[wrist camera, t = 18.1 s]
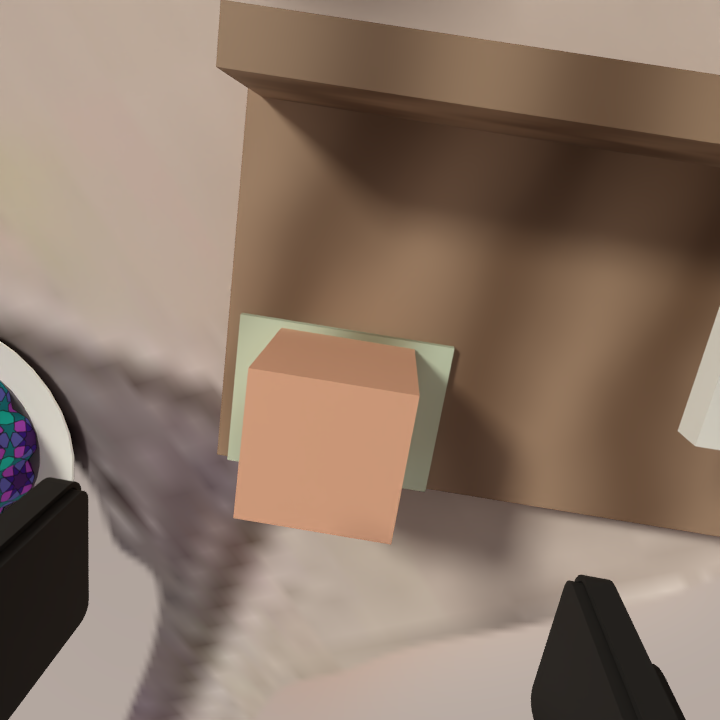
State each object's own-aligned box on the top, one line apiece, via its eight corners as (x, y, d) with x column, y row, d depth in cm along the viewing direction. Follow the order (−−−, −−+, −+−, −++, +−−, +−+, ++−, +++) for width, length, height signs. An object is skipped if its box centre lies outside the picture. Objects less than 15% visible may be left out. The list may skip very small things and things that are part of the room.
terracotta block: (414, 349, 21) (419, 396, 17) (392, 469, 23) (391, 544, 18) (281, 327, 22) (248, 367, 17) (267, 449, 23) (233, 518, 18)
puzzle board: (854, 146, 20) (1066, 127, 14) (714, 518, 25) (826, 635, 18) (261, 55, 21) (200, -4, 14) (227, 438, 25) (169, 525, 19)
